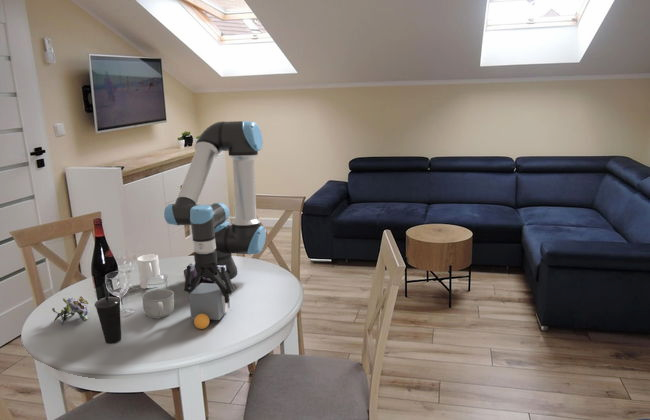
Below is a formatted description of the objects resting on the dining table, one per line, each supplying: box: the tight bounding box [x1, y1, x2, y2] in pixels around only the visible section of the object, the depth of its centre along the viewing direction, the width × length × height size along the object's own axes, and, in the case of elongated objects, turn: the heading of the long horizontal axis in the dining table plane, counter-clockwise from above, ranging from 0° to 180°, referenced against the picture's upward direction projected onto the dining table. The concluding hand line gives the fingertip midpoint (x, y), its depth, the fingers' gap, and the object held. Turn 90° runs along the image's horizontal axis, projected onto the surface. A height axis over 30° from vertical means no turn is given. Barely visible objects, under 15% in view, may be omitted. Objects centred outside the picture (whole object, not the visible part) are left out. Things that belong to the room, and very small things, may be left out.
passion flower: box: [51, 295, 89, 326], centre depth 179 cm, size 11×11×12 cm
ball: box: [193, 314, 210, 330], centre depth 172 cm, size 5×5×5 cm
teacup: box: [141, 288, 175, 319], centre depth 181 cm, size 14×11×8 cm
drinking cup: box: [94, 282, 122, 345], centre depth 164 cm, size 8×8×20 cm
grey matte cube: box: [188, 282, 231, 321], centre depth 178 cm, size 10×10×9 cm
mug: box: [136, 253, 161, 290], centre depth 207 cm, size 12×8×12 cm
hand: (210, 310), depth 179 cm, fingers closed on grey matte cube, 10 cm apart
